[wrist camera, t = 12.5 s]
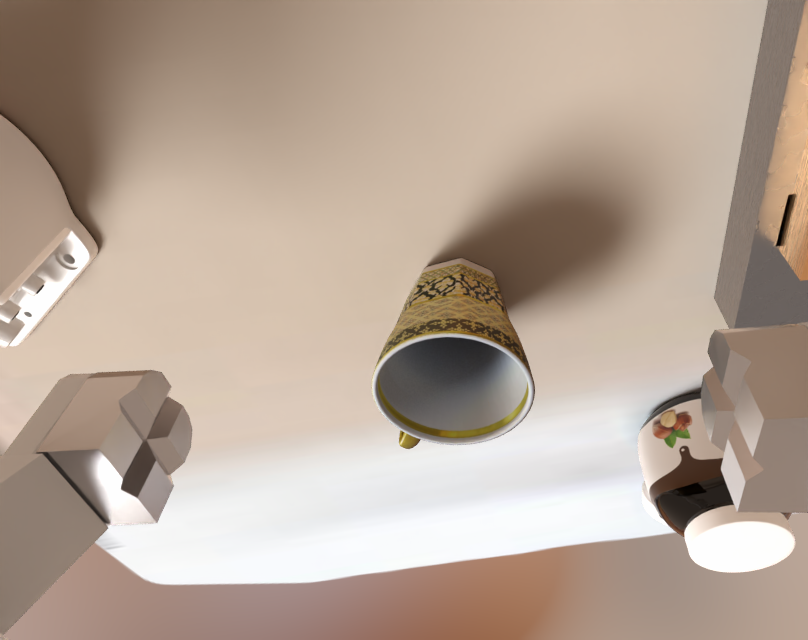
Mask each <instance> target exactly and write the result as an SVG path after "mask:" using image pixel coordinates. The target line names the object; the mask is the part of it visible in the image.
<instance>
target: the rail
mask: <svg viewBox="0 0 808 640" xmlns="http://www.w3.org/2000/svg"><path fill="white" fill-rule="evenodd" d="M807 136H808V0H768V6H767V11H766V17H765V22H764V28H763V33H762V39H761V44H760V50H759V55H758V61H757V66H756V71H755V77H754V82H753V88H752V93H751V99H750V104H749V110H748V115H747V121H746V126H745V132H744V137H743V143H742V148H741V154H740V159H739V165H738V170H737V176H736V181H735V187H734V192H733V198H732V203H731V209H730V214H729V220H728V225H727V231H726V236H725V241H724V247H723V252H722V258H721V263H720V269H719V274H718V280H717V285H716V291H715V296H714V299H715V301H716V303H717V305H718V307H719V309H720V311H721V313H722V315H723V317H724V319H725V321H726V323H727V325H728V327H729V329H735V328H747V327H760V326H773V325H786V324H798V323H805V322H808V280H802V281H800V280H799V278H798V277H797V275H796V274H795V272H794V271H793V269H792V268H791V267H790V265H789V264H788V262H787V261H786V259H785V258H784V256H783V255H782V254H781V252H780V251H779V249H780V245H781V241H782V237H783V233H784V230H783V229H782V228H781V222H782V218H783V214H784V210H785V206H786V202H787V198H788V195H790V194H793V193H794V189H795V185H796V181H797V177H798V172H799V168H800V164H801V160H802V156H803V152H804V148H805V144H806V140H807Z"/></svg>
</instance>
